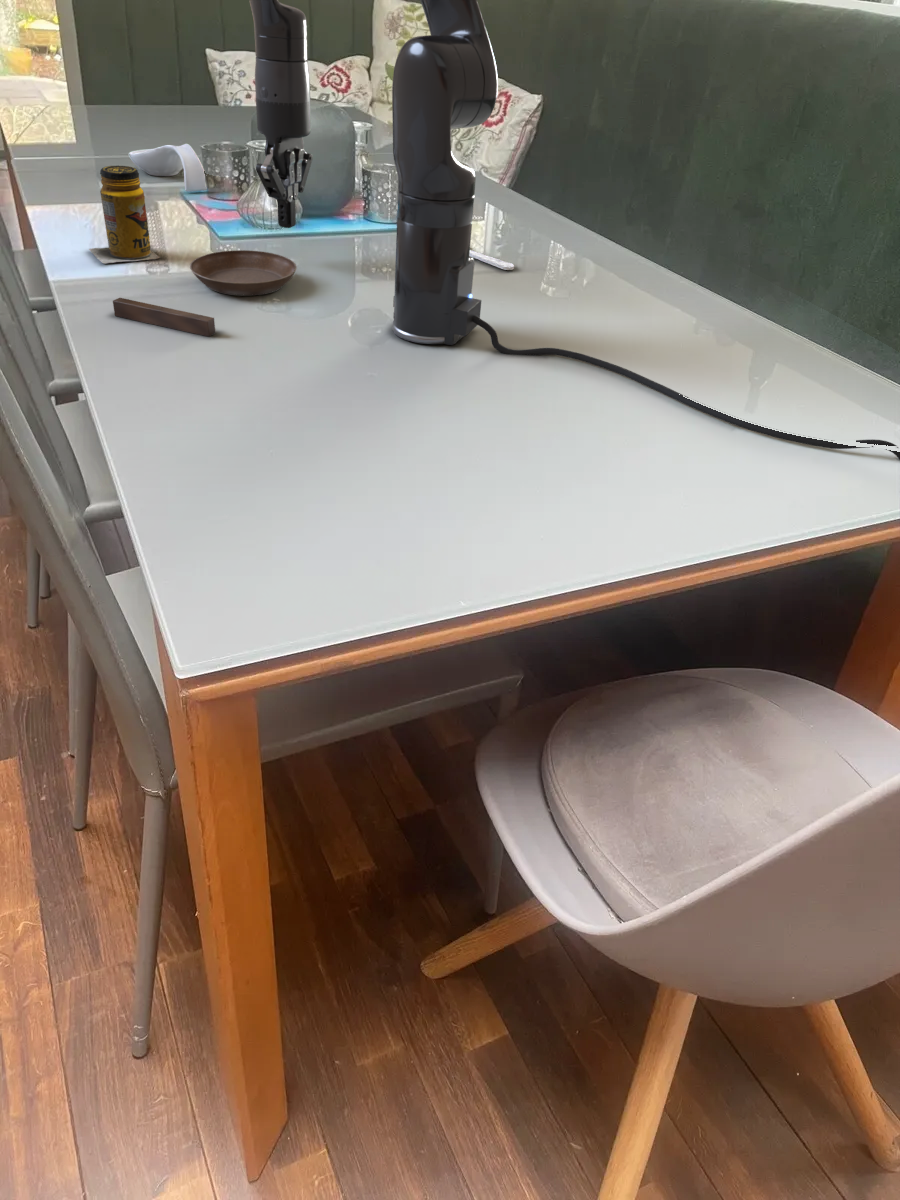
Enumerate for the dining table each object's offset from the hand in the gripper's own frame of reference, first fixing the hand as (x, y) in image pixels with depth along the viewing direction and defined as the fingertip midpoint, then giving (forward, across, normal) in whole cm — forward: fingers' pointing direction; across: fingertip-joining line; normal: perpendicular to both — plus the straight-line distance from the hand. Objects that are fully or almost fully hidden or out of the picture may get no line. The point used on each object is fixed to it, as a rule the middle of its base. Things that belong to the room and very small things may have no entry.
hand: (287, 226), depth 135 cm
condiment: (+6, -11, +22) cm, 25 cm away
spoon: (+5, +20, -23) cm, 31 cm away
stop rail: (+5, -32, 0) cm, 33 cm away
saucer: (+6, -13, 0) cm, 14 cm away
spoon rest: (+6, +35, +45) cm, 57 cm away
